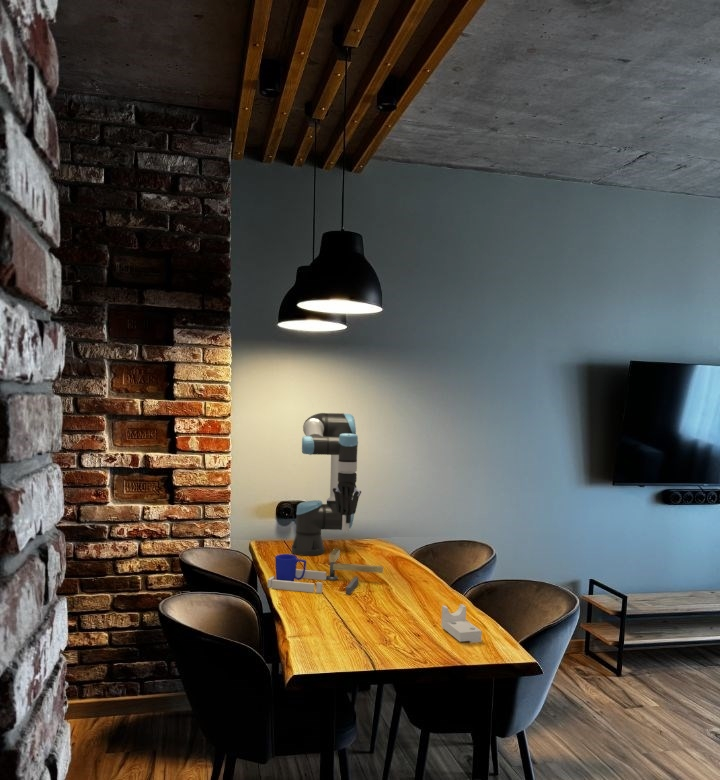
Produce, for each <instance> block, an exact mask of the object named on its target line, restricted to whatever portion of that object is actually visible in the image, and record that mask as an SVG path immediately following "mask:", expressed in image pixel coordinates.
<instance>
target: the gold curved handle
mask: <svg viewBox="0 0 720 780" xmlns="http://www.w3.org/2000/svg"><path fill="white" fill-rule="evenodd" d="M340 554H341V548H333V549H332V550H331V551H330V553H329V554H328V563H329V575H330V577H334V576H336V575H335V574H336V571H348V572H349V571H350V572H363V573H373V574H374V573H376V574H383V572H384V566H382V565H371V564H370V565H367V564H356V563H355V564H354V563H353V564H352V563H338V562H337V560H338V559H339V558H340V556H341V555H340Z"/></svg>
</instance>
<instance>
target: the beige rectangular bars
mask: <svg viewBox="0 0 720 780" xmlns="http://www.w3.org/2000/svg"><path fill="white" fill-rule="evenodd" d="M302 573H303V569H298V568H296V577H297V578H300V577H301V576H302ZM327 576H328V575H327V571H321V570H308V569H305V573H304V576H303V578H302V579H306V580H307V579H309V580H320V581H327ZM315 584H316V586H315ZM267 589H273V590H280V591H281V590H283V591H291V592H292V591H293V592H305V593H311V594H312V593H316V594H322V593H323V582H318V581H317V582H316V583H312V582H302V581H294V582H293V581H282V580H276V575H275V576H271V577H269V578H268V579H267ZM315 589H316V592H315Z"/></svg>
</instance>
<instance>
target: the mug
mask: <svg viewBox="0 0 720 780" xmlns="http://www.w3.org/2000/svg"><path fill="white" fill-rule="evenodd" d="M274 560H275V580H282V581H293V582H295V580H298V581H300V580H302V579H304V578H303V576H304V573H305V570H306V566H307V565H306V564H307V560H305V559H301V558H300V559H299V558H298V557H297V555H296V554H289V553H284V554H283V553H281V554H277V555H275V559H274ZM299 562H300V563H301V562H302V563H303V568H302V570H303V573H302V576H301V577H300V578H297V577H296V569H297V565H298V563H299Z"/></svg>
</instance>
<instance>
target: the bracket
mask: <svg viewBox="0 0 720 780" xmlns="http://www.w3.org/2000/svg"><path fill="white" fill-rule="evenodd" d="M466 616H467V606H466V605H464V604H461V603H460V604H459V605H458V609H456V610H455V612H452V613H451V612H450V611H449V607H448V606H446V605H441V628H442V629H443V630H444V631H446V632H448V634H450V635H451V636H452V637H453V638H455V639H456V640H457V641H459V642H469V643H470V644H475V643H482V630H481V629H480V628H478V627H477V626H475V625H474V624H472V623H471V622H470V621H468V620H467V618H466Z"/></svg>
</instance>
